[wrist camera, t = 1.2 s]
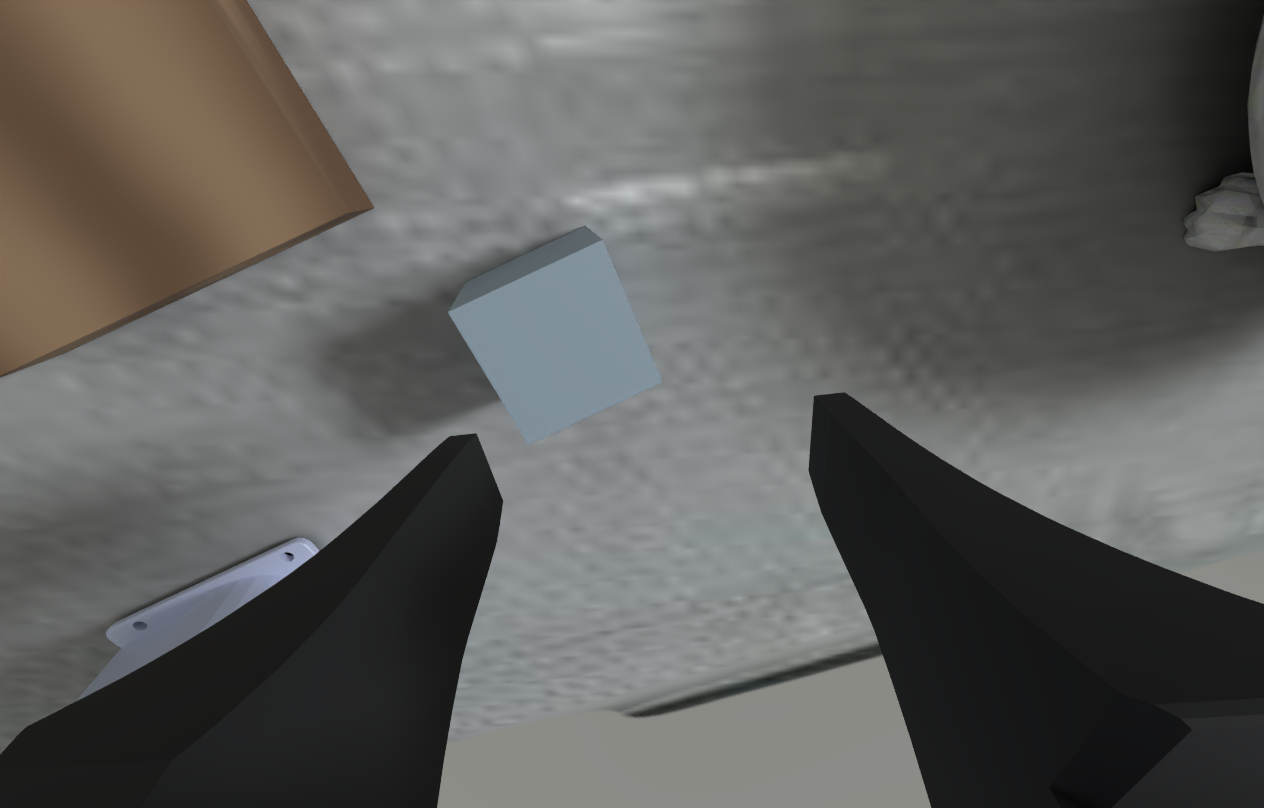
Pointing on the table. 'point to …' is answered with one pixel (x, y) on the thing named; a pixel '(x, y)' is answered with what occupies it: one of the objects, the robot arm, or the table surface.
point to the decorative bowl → (1236, 185)
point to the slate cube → (555, 334)
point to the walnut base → (146, 163)
